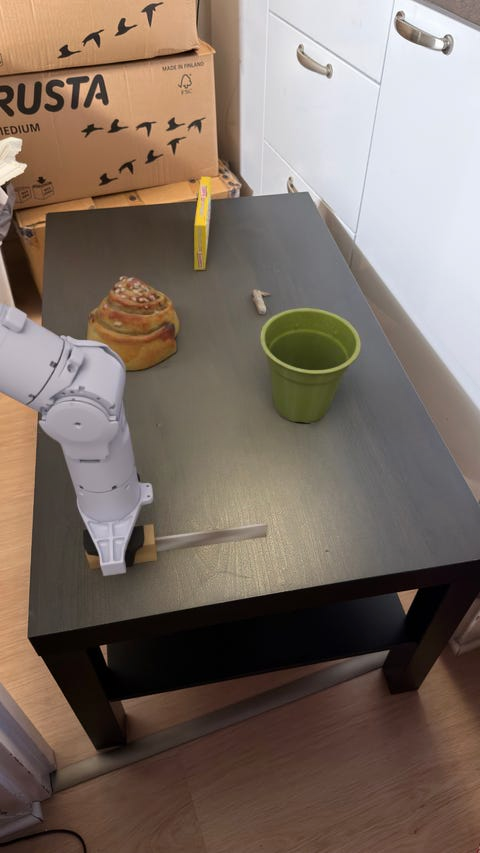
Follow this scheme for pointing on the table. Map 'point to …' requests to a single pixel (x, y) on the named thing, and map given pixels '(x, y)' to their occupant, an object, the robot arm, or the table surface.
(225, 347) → the table surface
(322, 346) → the plant pot
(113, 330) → the pastry
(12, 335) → the robot arm
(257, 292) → the ginger root
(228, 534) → the cake knife
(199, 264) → the candy box
